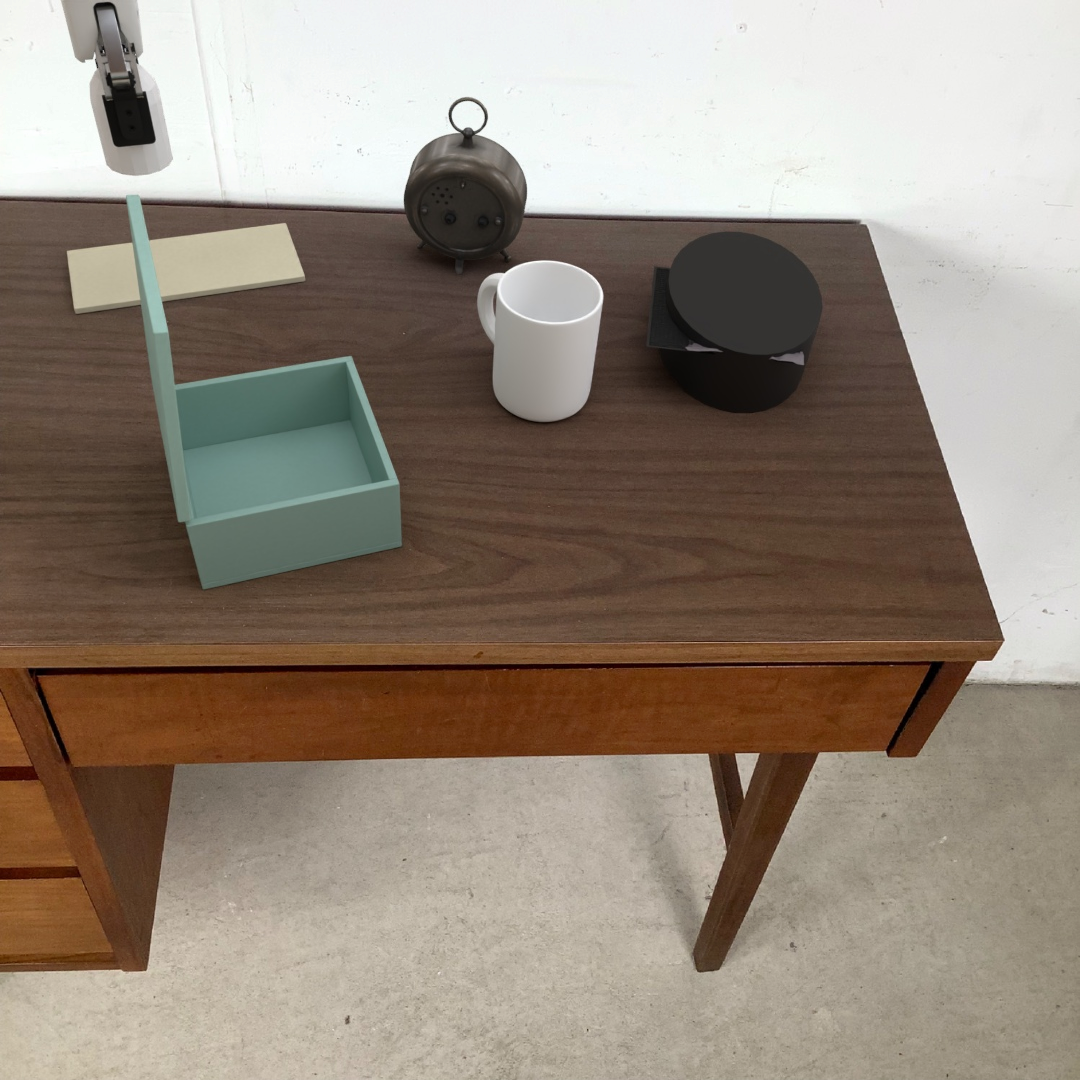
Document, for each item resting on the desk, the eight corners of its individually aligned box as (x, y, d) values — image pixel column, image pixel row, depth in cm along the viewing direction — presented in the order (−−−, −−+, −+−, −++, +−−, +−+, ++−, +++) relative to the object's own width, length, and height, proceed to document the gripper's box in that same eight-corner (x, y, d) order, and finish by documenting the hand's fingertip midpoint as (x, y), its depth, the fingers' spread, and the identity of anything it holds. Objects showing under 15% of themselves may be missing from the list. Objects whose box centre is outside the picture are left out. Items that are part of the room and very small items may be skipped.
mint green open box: (356, 419, 86) (351, 355, 81) (402, 546, 78) (399, 483, 73) (175, 452, 82) (158, 387, 77) (202, 590, 74) (186, 526, 69)
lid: (139, 193, 66) (125, 194, 66) (168, 331, 58) (153, 332, 58) (163, 381, 77) (151, 382, 77) (191, 521, 69) (178, 523, 68)
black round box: (800, 308, 103) (818, 238, 97) (809, 423, 90) (831, 349, 84) (649, 292, 103) (659, 221, 98) (638, 403, 91) (648, 329, 85)
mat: (75, 314, 92) (73, 308, 92) (68, 256, 98) (66, 250, 97) (305, 281, 98) (305, 275, 98) (286, 228, 103) (285, 222, 103)
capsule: (176, 142, 90) (157, 47, 84) (169, 175, 87) (149, 79, 81) (110, 142, 89) (86, 46, 83) (101, 175, 86) (75, 78, 80)
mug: (443, 365, 92) (443, 262, 84) (513, 328, 96) (520, 227, 88) (539, 440, 86) (548, 338, 79) (609, 397, 90) (625, 296, 83)
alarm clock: (523, 252, 104) (535, 90, 91) (517, 285, 100) (528, 120, 88) (411, 239, 104) (408, 75, 91) (401, 271, 100) (396, 105, 88)
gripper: (9, -169, 76) (73, 80, 90) (20, -80, 66) (91, 186, 80) (118, -172, 78) (165, 72, 92) (145, -86, 68) (194, 174, 82)
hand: (130, 122), depth 86 cm, fingers closed on capsule, 5 cm apart
